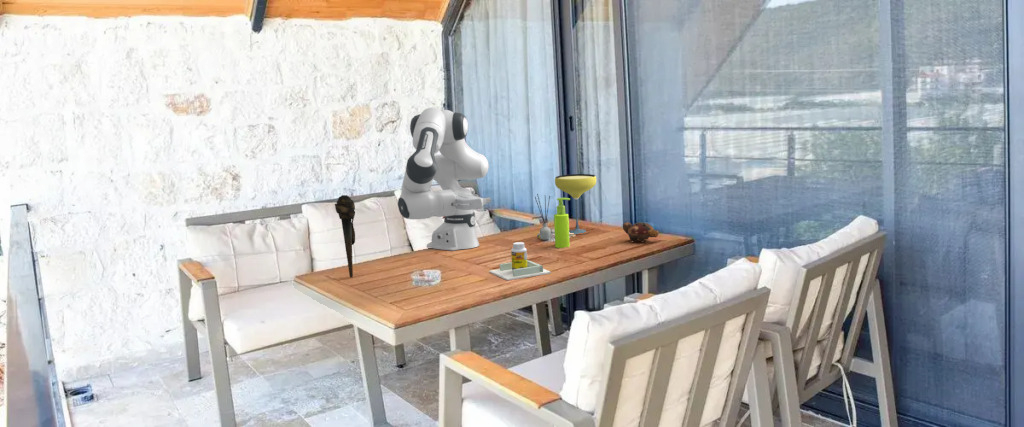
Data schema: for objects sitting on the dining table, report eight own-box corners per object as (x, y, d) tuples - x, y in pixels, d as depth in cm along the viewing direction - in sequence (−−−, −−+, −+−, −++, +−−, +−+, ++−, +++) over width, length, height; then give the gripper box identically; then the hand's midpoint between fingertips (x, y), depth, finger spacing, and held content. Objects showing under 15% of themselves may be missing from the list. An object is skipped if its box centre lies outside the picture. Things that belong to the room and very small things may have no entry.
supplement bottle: (509, 272, 284) (507, 244, 282) (516, 269, 289) (515, 241, 287) (523, 273, 281) (521, 245, 280) (530, 270, 286) (529, 242, 284)
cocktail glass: (577, 227, 368) (575, 173, 364) (606, 231, 354) (604, 175, 350) (548, 233, 356) (546, 177, 352) (577, 238, 343) (575, 180, 339)
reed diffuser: (556, 240, 340) (554, 193, 337) (543, 242, 336) (541, 195, 333) (541, 237, 348) (539, 191, 345) (529, 239, 344) (527, 193, 341)
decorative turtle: (626, 238, 337) (626, 219, 336) (661, 239, 331) (661, 220, 329) (619, 243, 329) (618, 223, 327) (655, 244, 322) (655, 225, 321)
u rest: (507, 280, 275) (506, 272, 275) (489, 272, 288) (488, 264, 288) (550, 273, 282) (550, 265, 282) (531, 265, 296) (531, 258, 295)
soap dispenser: (571, 247, 323) (569, 198, 320) (554, 248, 325) (552, 199, 322) (573, 244, 329) (571, 196, 326) (556, 245, 331) (554, 197, 327)
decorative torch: (352, 280, 287) (345, 197, 282) (337, 278, 290) (330, 196, 285) (364, 275, 293) (358, 194, 288) (349, 274, 296) (343, 193, 291)
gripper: (457, 196, 260) (496, 192, 266) (435, 190, 278) (472, 186, 284) (459, 216, 261) (497, 211, 267) (436, 208, 279) (473, 204, 285)
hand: (484, 198), depth 276 cm, fingers open, 8 cm apart
